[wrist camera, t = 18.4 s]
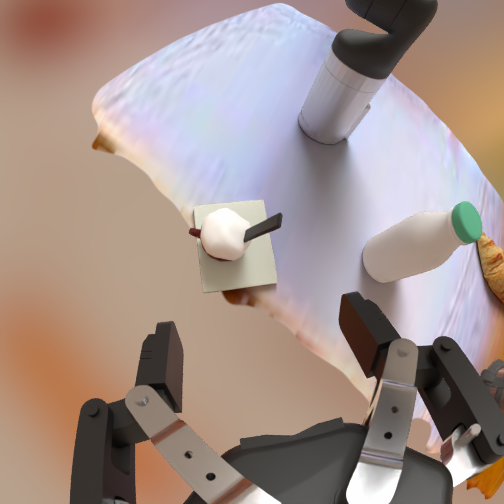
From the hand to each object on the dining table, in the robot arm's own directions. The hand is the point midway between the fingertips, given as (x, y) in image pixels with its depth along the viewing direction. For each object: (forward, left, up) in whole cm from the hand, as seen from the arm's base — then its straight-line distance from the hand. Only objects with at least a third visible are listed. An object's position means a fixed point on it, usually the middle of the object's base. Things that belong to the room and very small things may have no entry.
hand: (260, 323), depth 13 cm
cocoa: (-1, -10, -24) cm, 26 cm away
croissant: (-61, +3, -25) cm, 66 cm away
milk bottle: (-25, -5, -25) cm, 36 cm away
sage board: (-2, -10, -25) cm, 27 cm away
